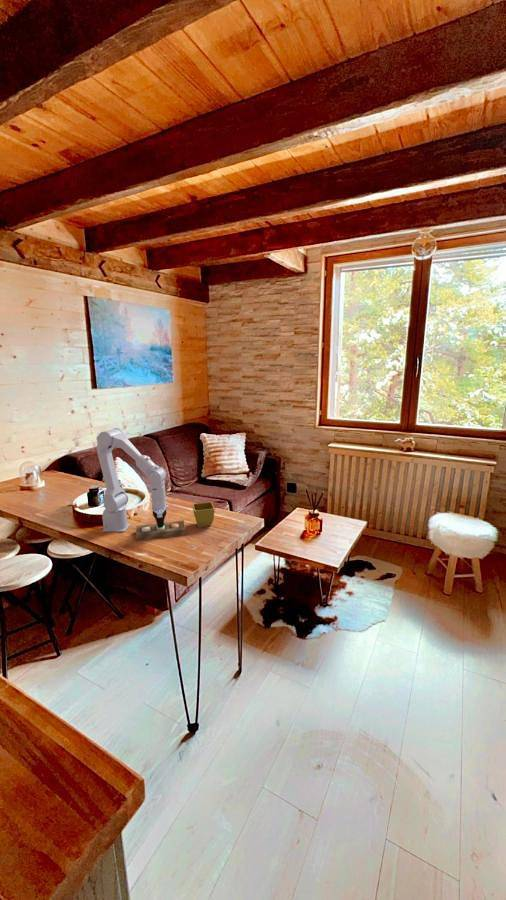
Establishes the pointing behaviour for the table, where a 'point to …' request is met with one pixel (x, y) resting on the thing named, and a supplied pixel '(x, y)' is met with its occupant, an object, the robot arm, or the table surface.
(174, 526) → the orange button
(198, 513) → the flower pot
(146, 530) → the cream button
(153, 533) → the button board
